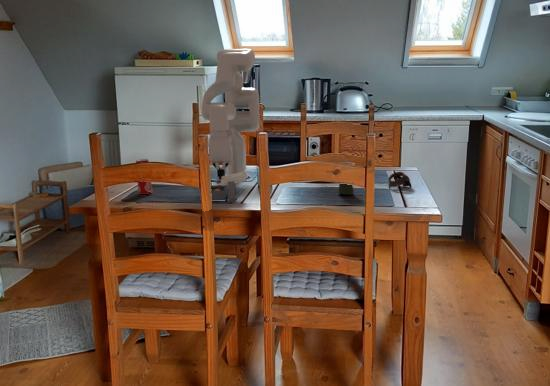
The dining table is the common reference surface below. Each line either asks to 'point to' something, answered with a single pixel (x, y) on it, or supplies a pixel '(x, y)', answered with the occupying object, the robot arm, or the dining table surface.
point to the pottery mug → (399, 180)
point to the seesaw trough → (233, 178)
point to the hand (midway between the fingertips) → (221, 178)
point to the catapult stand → (232, 192)
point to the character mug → (344, 187)
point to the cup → (218, 192)
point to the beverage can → (144, 186)
